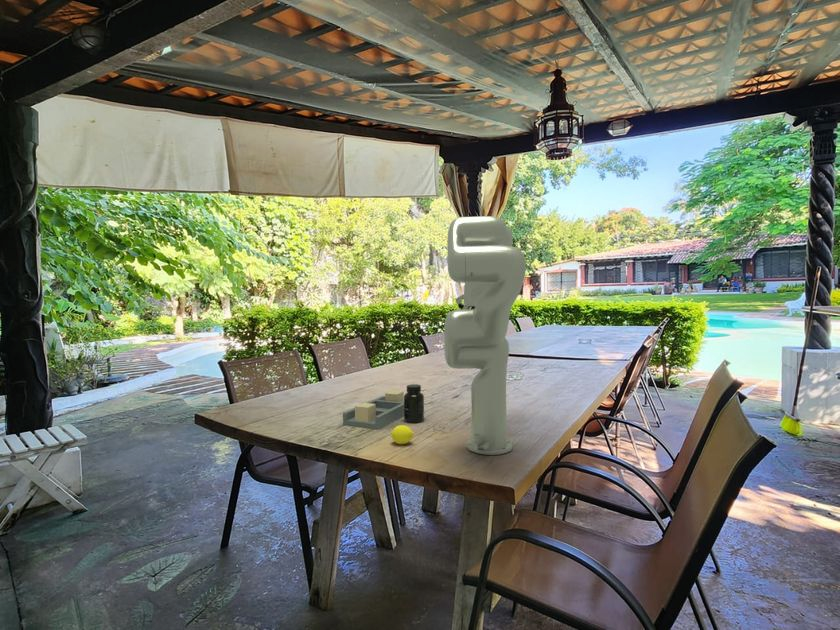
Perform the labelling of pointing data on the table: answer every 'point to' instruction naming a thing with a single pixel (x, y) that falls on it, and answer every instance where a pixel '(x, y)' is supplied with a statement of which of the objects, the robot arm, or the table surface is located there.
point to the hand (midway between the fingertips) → (480, 324)
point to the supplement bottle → (413, 404)
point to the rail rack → (376, 411)
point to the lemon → (402, 434)
